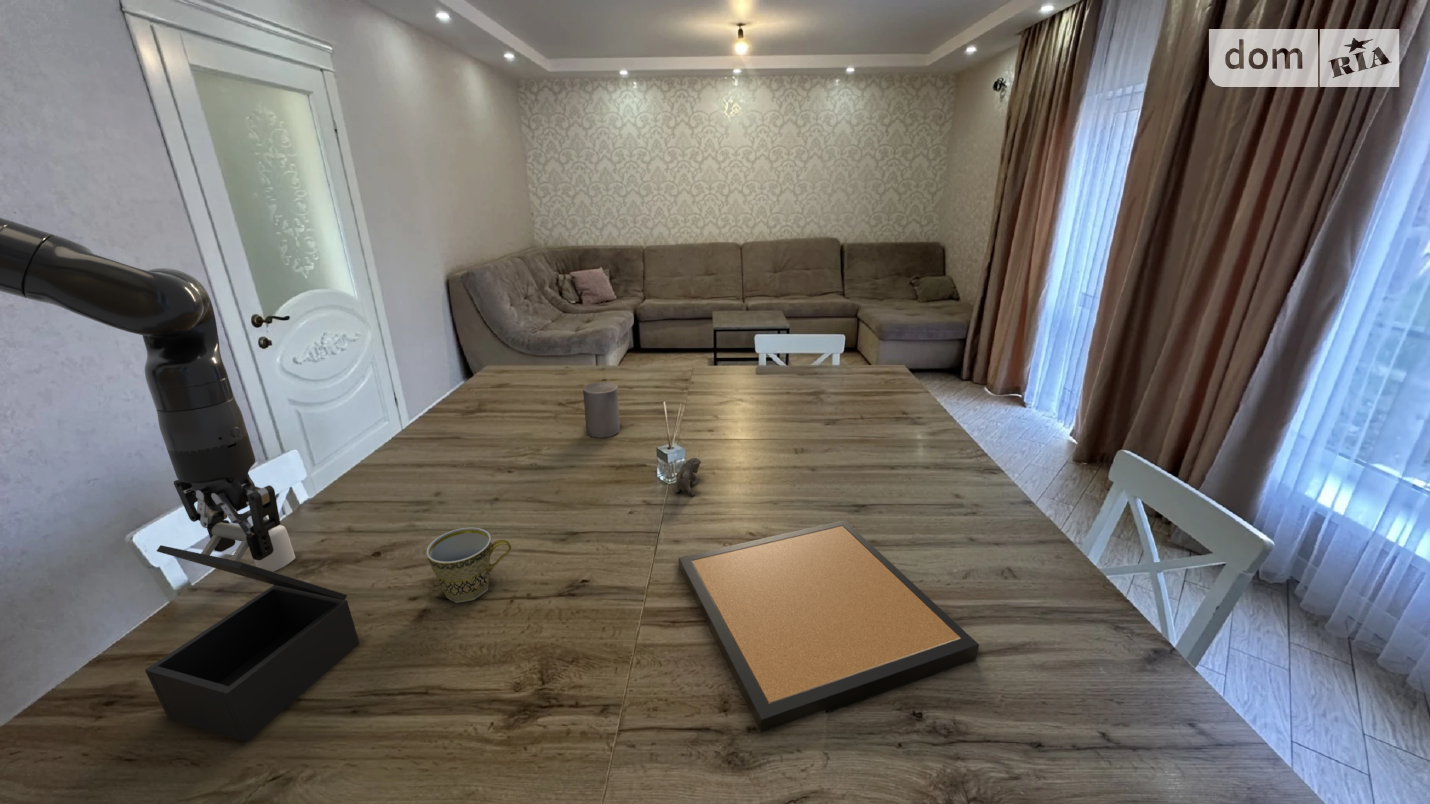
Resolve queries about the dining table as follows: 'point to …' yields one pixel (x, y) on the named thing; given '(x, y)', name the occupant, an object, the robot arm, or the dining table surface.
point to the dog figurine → (687, 476)
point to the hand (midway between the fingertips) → (244, 552)
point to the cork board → (818, 621)
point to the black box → (254, 661)
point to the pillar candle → (601, 409)
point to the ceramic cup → (463, 562)
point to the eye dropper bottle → (277, 550)
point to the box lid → (242, 568)
